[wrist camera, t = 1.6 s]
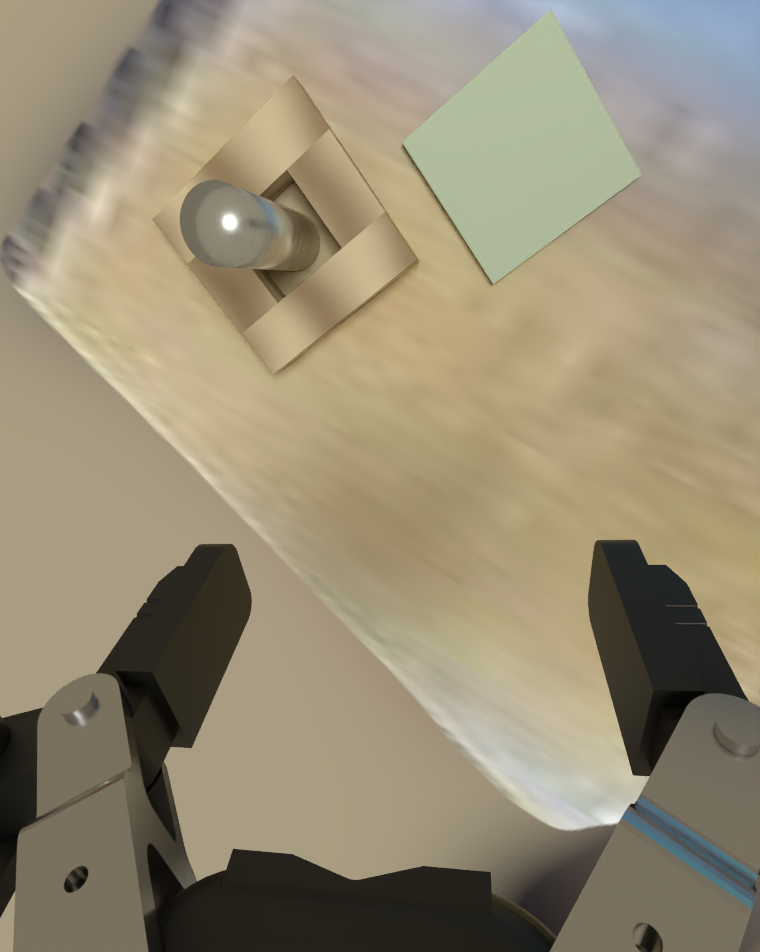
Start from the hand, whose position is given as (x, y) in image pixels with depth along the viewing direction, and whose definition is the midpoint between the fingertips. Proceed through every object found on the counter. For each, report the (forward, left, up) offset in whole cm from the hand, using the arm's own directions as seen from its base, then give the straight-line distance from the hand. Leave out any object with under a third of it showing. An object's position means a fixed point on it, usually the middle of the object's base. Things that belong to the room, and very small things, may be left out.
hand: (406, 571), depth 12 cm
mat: (-11, -8, -27) cm, 30 cm away
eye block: (+3, -13, -27) cm, 30 cm away
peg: (+3, -13, -27) cm, 30 cm away
